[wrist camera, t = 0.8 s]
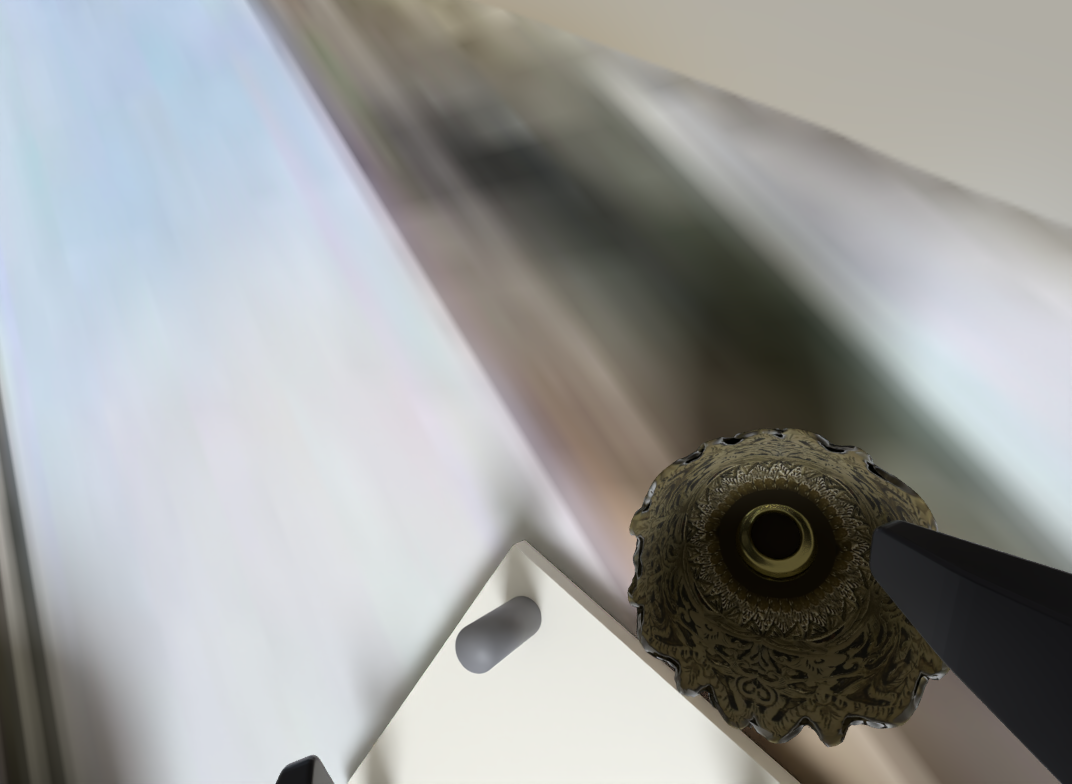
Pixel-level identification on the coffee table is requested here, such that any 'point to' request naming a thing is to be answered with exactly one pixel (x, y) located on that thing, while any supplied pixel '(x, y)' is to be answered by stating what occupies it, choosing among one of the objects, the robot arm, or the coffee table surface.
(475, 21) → the coffee table surface
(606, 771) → the peg stand
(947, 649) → the robot arm
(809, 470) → the dark brown ornate lampshade
